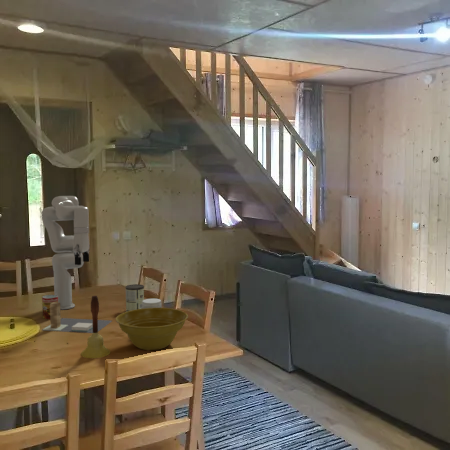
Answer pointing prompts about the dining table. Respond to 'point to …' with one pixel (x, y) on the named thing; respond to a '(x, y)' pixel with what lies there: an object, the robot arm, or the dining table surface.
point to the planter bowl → (152, 326)
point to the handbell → (95, 336)
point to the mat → (72, 322)
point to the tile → (82, 327)
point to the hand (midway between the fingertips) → (82, 263)
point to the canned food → (48, 304)
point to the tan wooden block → (55, 315)
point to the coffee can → (134, 297)
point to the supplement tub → (151, 303)
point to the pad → (55, 328)
